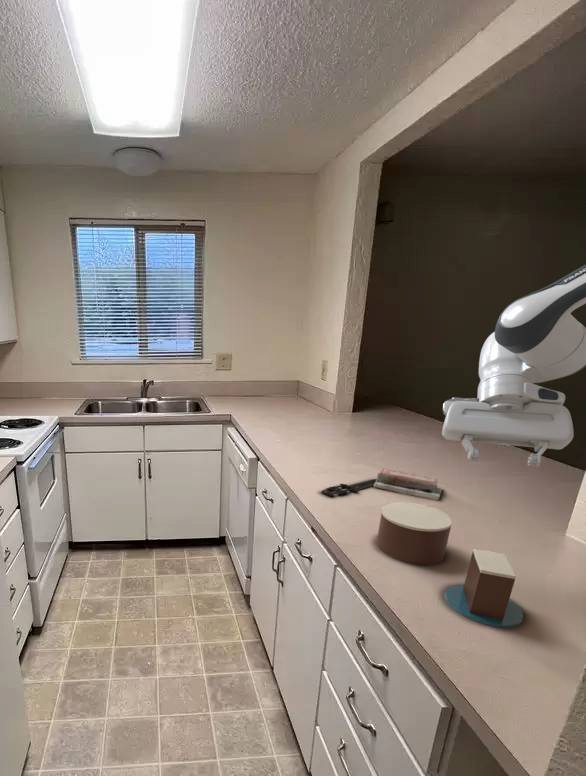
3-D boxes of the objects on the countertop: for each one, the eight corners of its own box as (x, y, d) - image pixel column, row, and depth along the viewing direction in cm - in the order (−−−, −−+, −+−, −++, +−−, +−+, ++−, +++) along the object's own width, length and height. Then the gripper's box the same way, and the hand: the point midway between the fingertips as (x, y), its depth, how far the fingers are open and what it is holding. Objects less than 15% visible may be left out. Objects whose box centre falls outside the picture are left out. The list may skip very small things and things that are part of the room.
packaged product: (375, 473, 133) (382, 464, 141) (372, 487, 135) (379, 478, 143) (442, 486, 124) (445, 476, 132) (438, 501, 126) (441, 490, 133)
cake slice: (493, 594, 83) (505, 553, 80) (503, 620, 76) (516, 576, 73) (463, 588, 85) (473, 548, 82) (469, 612, 78) (481, 569, 75)
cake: (440, 542, 104) (448, 507, 100) (447, 571, 92) (456, 534, 89) (376, 531, 109) (382, 498, 106) (375, 558, 97) (381, 522, 94)
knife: (378, 480, 142) (379, 476, 142) (394, 487, 137) (395, 483, 136) (316, 492, 134) (317, 487, 133) (330, 499, 128) (331, 495, 127)
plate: (512, 597, 83) (513, 593, 83) (530, 636, 73) (531, 632, 73) (441, 582, 88) (442, 579, 88) (448, 618, 78) (449, 614, 77)
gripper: (447, 387, 87) (442, 447, 82) (576, 394, 79) (579, 460, 74) (440, 405, 92) (435, 462, 87) (560, 413, 84) (562, 476, 79)
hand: (502, 462), depth 81 cm, fingers open, 8 cm apart
